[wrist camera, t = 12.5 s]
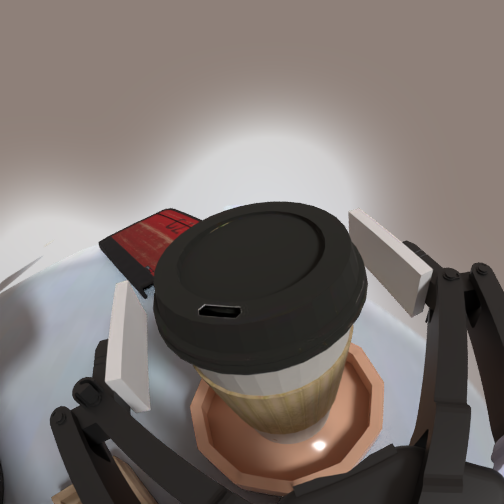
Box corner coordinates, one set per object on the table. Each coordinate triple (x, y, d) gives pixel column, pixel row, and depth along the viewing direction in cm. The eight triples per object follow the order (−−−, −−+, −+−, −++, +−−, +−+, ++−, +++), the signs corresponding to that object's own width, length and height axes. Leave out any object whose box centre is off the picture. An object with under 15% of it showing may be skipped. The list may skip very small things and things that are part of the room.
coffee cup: (358, 360, 23) (363, 192, 15) (345, 472, 16) (371, 352, 7) (246, 353, 27) (194, 202, 18) (211, 452, 19) (97, 322, 11)
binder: (139, 288, 36) (96, 241, 50) (145, 302, 37) (101, 252, 52) (235, 231, 44) (168, 204, 58) (238, 245, 46) (171, 214, 60)
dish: (170, 418, 23) (158, 406, 21) (281, 322, 30) (278, 305, 29) (296, 530, 13) (293, 530, 12) (409, 389, 21) (416, 373, 19)
